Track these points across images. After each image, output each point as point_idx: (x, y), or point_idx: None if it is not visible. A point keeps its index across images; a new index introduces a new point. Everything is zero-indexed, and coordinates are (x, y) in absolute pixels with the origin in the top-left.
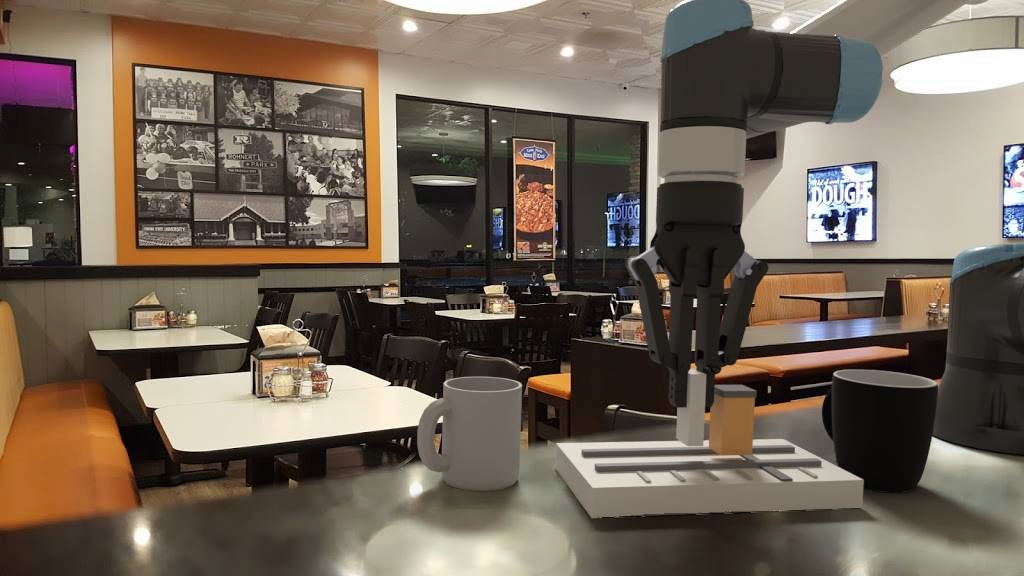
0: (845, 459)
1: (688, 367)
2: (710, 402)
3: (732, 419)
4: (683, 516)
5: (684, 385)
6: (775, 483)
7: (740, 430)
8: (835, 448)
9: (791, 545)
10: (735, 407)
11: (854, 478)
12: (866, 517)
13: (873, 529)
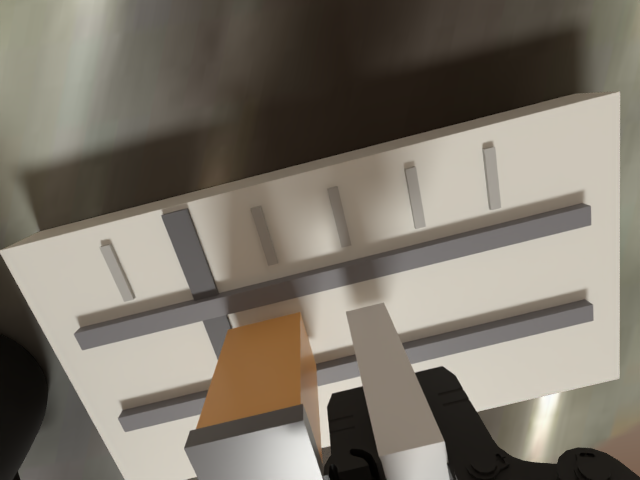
0: (18, 388)
1: (463, 468)
2: (337, 401)
3: (272, 368)
4: (396, 134)
5: (443, 420)
6: (203, 198)
7: (251, 356)
8: (27, 429)
9: (217, 7)
10: (262, 394)
11: (18, 257)
12: (39, 186)
13: (37, 121)
